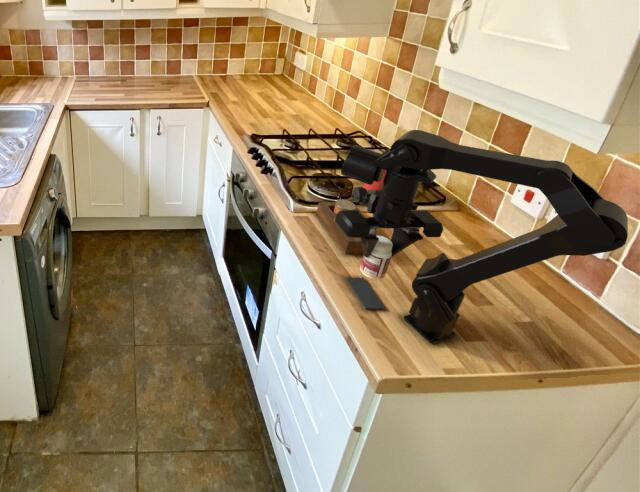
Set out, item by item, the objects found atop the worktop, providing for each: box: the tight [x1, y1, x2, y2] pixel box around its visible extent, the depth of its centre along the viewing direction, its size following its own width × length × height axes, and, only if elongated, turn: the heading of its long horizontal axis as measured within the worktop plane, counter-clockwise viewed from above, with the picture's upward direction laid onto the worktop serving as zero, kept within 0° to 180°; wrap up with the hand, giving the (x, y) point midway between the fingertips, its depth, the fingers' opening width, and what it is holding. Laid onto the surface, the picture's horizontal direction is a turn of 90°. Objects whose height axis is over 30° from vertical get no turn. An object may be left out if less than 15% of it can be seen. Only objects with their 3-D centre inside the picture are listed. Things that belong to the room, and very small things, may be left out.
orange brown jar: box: [333, 198, 357, 216], centre depth 113 cm, size 5×5×6 cm
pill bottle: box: [359, 235, 393, 281], centre depth 87 cm, size 5×5×8 cm
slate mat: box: [345, 277, 386, 311], centre depth 91 cm, size 9×4×1 cm, turn 179°
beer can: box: [362, 170, 387, 190], centre depth 126 cm, size 7×7×12 cm
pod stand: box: [315, 201, 383, 255], centre depth 110 cm, size 10×17×4 cm, turn 0°
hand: (377, 256), depth 87 cm, fingers closed on pill bottle, 5 cm apart
